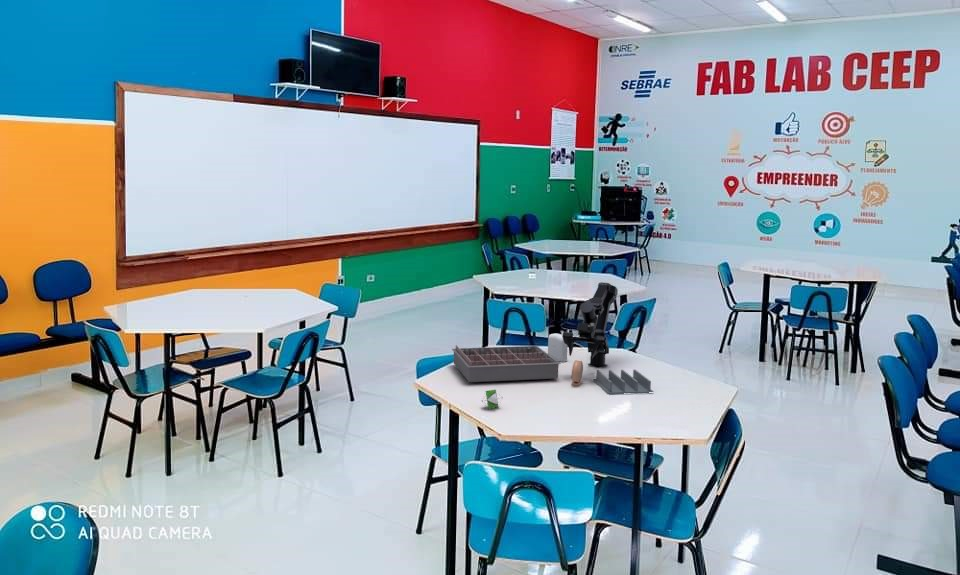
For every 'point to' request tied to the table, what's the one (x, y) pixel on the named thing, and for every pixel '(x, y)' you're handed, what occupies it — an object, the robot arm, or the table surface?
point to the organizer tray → (505, 363)
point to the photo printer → (557, 347)
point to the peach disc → (577, 373)
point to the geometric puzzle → (492, 398)
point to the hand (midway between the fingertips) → (580, 356)
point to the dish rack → (623, 383)
